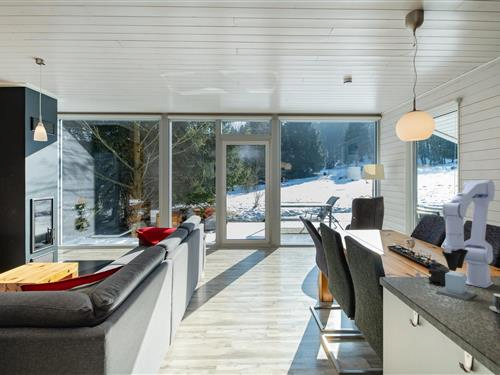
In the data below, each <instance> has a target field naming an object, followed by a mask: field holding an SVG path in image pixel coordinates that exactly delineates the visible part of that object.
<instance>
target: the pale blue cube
mask: <svg viewBox="0 0 500 375" xmlns="http://www.w3.org/2000/svg"><path fill="white" fill-rule="evenodd" d="M449 271H450V272H448V273H446V274H445V284H444V285H445V286H446V291H448V292H453V293H457V294H463V293H465V292H466V290H467V284H466V281H467V273H461V272H456V271H451V270H449ZM445 286H444V287H445Z"/></svg>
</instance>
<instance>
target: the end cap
mask: <svg viewBox="0 0 500 375" xmlns="http://www.w3.org/2000/svg"><path fill="white" fill-rule="evenodd" d="M450 271H451V270H449V268H448V266H446V265H443V264H441V265H440V266H439V265H432V264H431V265H430V266H429V268H428V274H429V275H430V276H428V281H429V282H428V284H429V285H435V286H443V285H445V274H446V273H448V272H450Z"/></svg>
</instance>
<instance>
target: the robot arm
mask: <svg viewBox="0 0 500 375" xmlns="http://www.w3.org/2000/svg"><path fill="white" fill-rule="evenodd" d="M495 187H496V186H495V183H494V181H493V180H492V179H482V180H481V179H479V180H477V179H476V180H464V182H463V183H462V191H461V192H458V193H457V194H456V195H455V196H454V197H453V198H452V199H451V200H450V202H446V203H444V204H443V205H442V209H441V213H442V216H443V221H444V222H445V243H442V246H443V247H444V250H442V251H441V252H442V253H441V254H442V255H443V257H444V259H445V262H446V264H447V268H448V269H449V271H451V272H456V271H457V269H463V266H464V262H465V263H466V285H470V286H473V287H479V288H484V289H486V288H488V287H490V286H492V285H493V284H494V283H493V282H491V268H490V264H491V263H492V262H493V259H494V252H493V246H492V244H490V243H489V242H487V240H486V233H487V232H486V230H487V221H488V211H489V204H490V202H493V201H494V198H495V192H496V189H495ZM472 202H473V204H474V205H473V212H472V222H471V230H470V231H471V232H470V238H469V239H467V240H465V234H464V232H465V230H464V229H465V228H464V218H465V217H466V216H467V215H466V214H467V211H468V208H469V206H470V205H471V203H472Z"/></svg>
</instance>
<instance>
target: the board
mask: <svg viewBox="0 0 500 375" xmlns="http://www.w3.org/2000/svg"><path fill="white" fill-rule="evenodd" d="M435 291H436V294H438V295H441V296H446V297H450V298H455V299H460V300H463V301H468V300H469V299H471V298H473V297H475V296H476V295H477V291H476V290H469V289H466V292H465V293H463V294H457V293H453V292H448V291H446V286H443V287H442V288H439V289H437V290H435Z"/></svg>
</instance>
